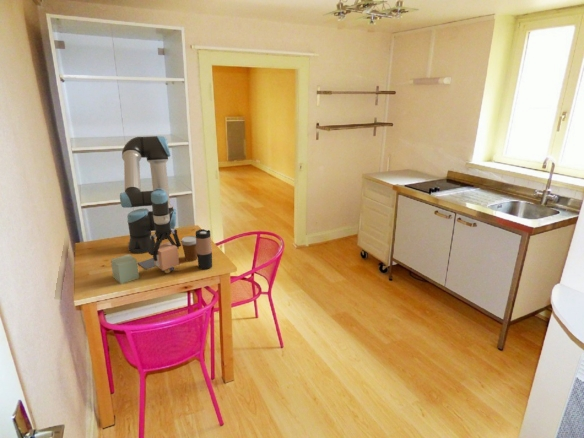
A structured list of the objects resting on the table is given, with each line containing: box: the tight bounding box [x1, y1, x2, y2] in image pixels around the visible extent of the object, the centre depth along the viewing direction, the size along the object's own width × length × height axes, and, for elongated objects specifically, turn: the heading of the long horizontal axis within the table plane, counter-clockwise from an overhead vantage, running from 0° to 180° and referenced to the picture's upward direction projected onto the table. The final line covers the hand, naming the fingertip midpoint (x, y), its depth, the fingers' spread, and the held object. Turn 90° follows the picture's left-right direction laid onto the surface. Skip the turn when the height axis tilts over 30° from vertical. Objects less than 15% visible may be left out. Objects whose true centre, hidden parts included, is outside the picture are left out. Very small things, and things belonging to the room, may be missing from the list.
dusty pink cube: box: [154, 241, 180, 271], centre depth 190 cm, size 9×9×10 cm
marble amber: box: [163, 268, 171, 274], centre depth 190 cm, size 3×3×3 cm
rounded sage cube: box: [110, 253, 140, 285], centre depth 184 cm, size 9×9×10 cm
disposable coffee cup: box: [180, 235, 198, 262], centre depth 205 cm, size 10×10×12 cm
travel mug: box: [195, 229, 213, 271], centre depth 195 cm, size 8×8×20 cm
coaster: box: [137, 257, 157, 270], centre depth 201 cm, size 10×10×1 cm
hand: (166, 262), depth 191 cm, fingers closed on dusty pink cube, 9 cm apart
